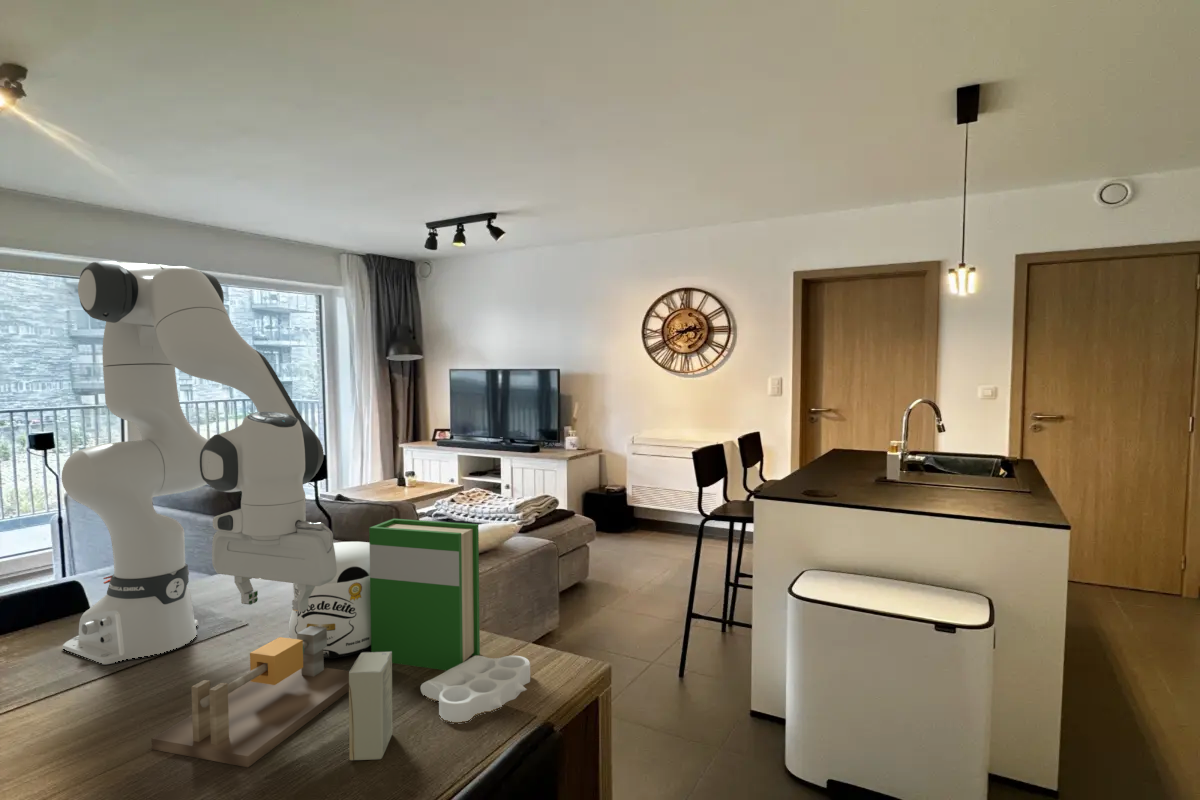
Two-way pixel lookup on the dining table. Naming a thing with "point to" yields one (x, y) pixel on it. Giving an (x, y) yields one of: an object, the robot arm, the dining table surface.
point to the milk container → (341, 603)
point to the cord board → (255, 709)
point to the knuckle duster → (478, 686)
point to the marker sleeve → (278, 659)
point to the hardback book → (425, 592)
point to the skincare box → (370, 705)
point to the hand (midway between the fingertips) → (274, 606)
